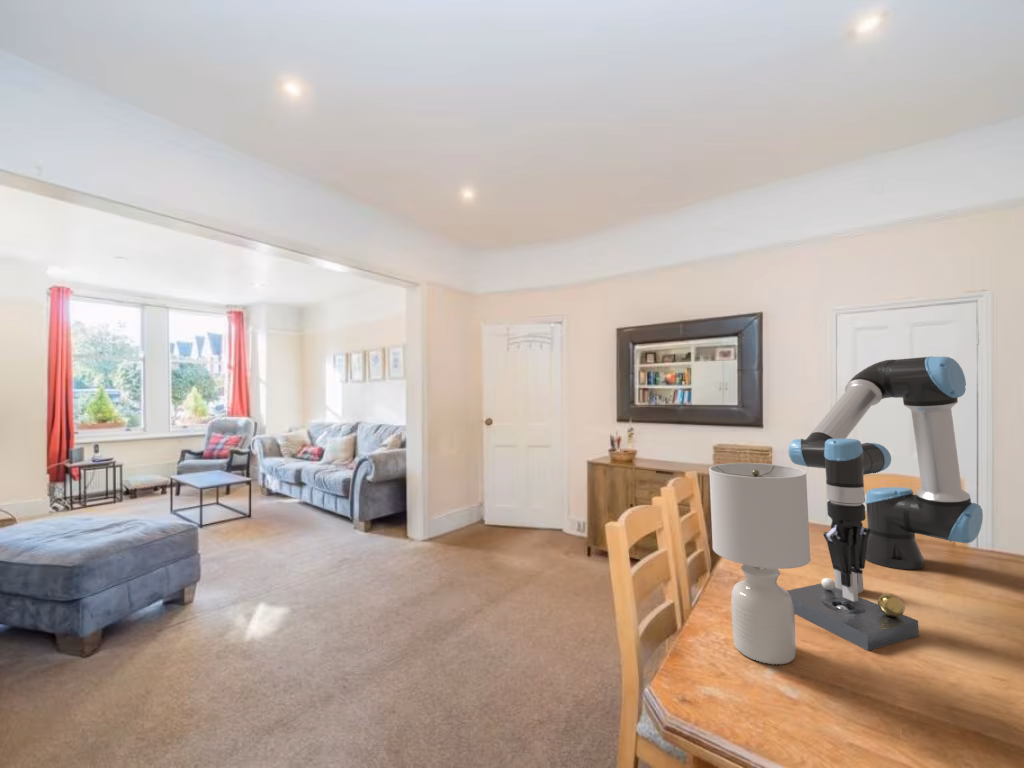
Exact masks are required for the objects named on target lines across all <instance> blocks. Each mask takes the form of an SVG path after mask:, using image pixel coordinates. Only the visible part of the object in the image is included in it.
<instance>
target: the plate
mask: <svg viewBox="0 0 1024 768" xmlns="http://www.w3.org/2000/svg"><path fill="white" fill-rule="evenodd" d="M786 591H787V592H788V593H789V594H790V596H791V598H792V601H793V606H794V614H795V615H797V616H798V617H801V618H802V619H805V620H806V621H808V622H810V623H812V624H814V625H816V626H818V627H820V628H822V629H824V630H826V631H828V632H830V633H832V634H834V635H836V636H838V637H840V638H842V639H844V640H846V641H847V642H850V643H851V644H854V645H855V646H858V647H859V648H862V649H864V650H866V651H868V652H870V651H871V650H876V649H880V648H883V647H887V646H889V645H894V644H896V643H900V642H903V641H904V642H905V641H907V640H910V639H915V638H917V637H918V638H919V636H920V635H919V634H920V631H919V620H917V619H915V618H913V617H911V616H908V615H906V614H904V613H903V614H902V615H901V616H899V617H891V616H888V615H886V614H884V613H883V612H882V611H881V610H880V608H879V606H878V603H875V602H873V601H871V600H868V599H866V598H863V597H860V596H858V601H855V602H853V601H851V600H849V599H846V598H844V597H843V592H842V590H841V589H839V588H837V587H836V586H835V588H834V589H833V590H827V589H825V588H824V587H823V586H822V584H821V583H816V584H812V585H808V586H801V587H798V588H794V589H788V590H786ZM838 605H843V606H845V607H847V608H848V609H849V610H844V609H840V608H837V607H836V606H838Z"/></svg>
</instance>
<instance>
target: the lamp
mask: <svg viewBox="0 0 1024 768" xmlns="http://www.w3.org/2000/svg"><path fill="white" fill-rule="evenodd" d="M708 473H709V492H710V494H709V495H710V496H709V497H710V514H711V515H710V517H711V520H710V521H711V537H712V550H713V552H714V553H715V554H717V556H719V557H722V558H723V559H726V560H728V561H731V562H733V563H736V564H741V566H740V569H741V571H742V573H743V575H744V578H745V579H744V580H741V581H738V582H737V583H735V584H734V586H732V587H733V588H732V590H731V596H730V597H731V600H730V603H731V604H730V605H731V611H730V613H731V623H732V624H731V625H732V637H733V643H734V646H735V648H736V649H737V650H738V651H739V653H741V654H742V655H744V656H745V657H747V658H748V659H751V660H753V661H755V660H756V662H758V661H759V663H762V664H766V663H767V664H768V665H775V664H776V665H777V666H778V664H779V665H784V664H785V665H786V664H789V663H791V662H792V661H793V660H794V659H795V658H796V653H797V649H796V646H797V645H796V644H797V643H796V618H795V615H796V614H794V606H793V601H792V598H791V596H790V594H789V593H788V592H787V591H788V590H786V589H785V588H783V587H782V586H781V585H779V584H778V582H777V580H778V578H779V577H780V575H781V572H780V571H781V570H782V569H783V570H787V569H796V568H802V567H804V566H807V565H808V564H810V562H811V545H810V525H809V504H808V503H809V502H808V487H807V486H808V485H807V471H806V470H804V469H801V468H799V467H793V466H789V465H781V464H772V463H770V464H769V463H753V462H741V463H740V462H739V463H738V462H736V463H733V462H732V463H720V464H715V465H711V466H709V468H708ZM767 664H766V665H767Z"/></svg>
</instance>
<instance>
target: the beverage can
mask: <svg viewBox="0 0 1024 768" xmlns="http://www.w3.org/2000/svg"><path fill="white" fill-rule="evenodd" d="M859 563H860V562H859ZM860 570H861V571H863V569H860ZM863 574H864V573H862V574H859V573H858V595H860V594H862V593H863V592H864V576H863ZM833 576H834V582H835V587H836V588H839V589H841V590H842V584H841V572H840V571H838V570H835V569H833Z"/></svg>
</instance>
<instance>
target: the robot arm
mask: <svg viewBox="0 0 1024 768" xmlns="http://www.w3.org/2000/svg"><path fill="white" fill-rule="evenodd" d="M966 386H967V382H966V377H965V373H964V371H963V368H962V367H961V365H960V364H959V363H958V362H957V360H955V359H954V358H953V357H950V356H933V355H932V356H931V355H930V356H921V357H911V358H899V359H898V358H897V359H885V360H882V361H879V362H876V363H873V364H871V365H869V366H868V367H866V368H864V369H863V370H860V371H859V372H858V373H857V374H856V375H854V376H853V377H852V378H851V379H850V380H849V381H848V382H847V383H846V385H845V388H844V393H843V394H842V395H841V397H840V398H839V399H838V400H837V402H835V404H834V405H833V406H832V407H831V408H830V410H828V412H827V413H826V415H825V416H824V417H823V418H822V419H821V421H819V423H818V425H817V426H816V427H815V428H814V429H813V431H811V433H810V434H809V435H808V436H807V437H806V438H805V439H804V438H799V439H794V440H792V441H791V442H790V444H789V445H788V457H789V459H790V461H791V462H792V463H793V464H794V465H798V466H801V467H802V466H803V467H807V468H817V469H825V477H826V478H825V479H826V480H825V481H826V498H827V500H828V501H827V502H826V503H827V504H826V507H827V516H828V517H829V518H830V519H831V524H830V528H831V529H830V530H829V531H828V532H826V531H824V532H823V537H824V539H825V541H826V543H827V548H828V553H829V556H830V560H831V563H832V565H831V566H832V568H833V570H834V569H835V570H838V571H840V572H841V584H842V592H843V597H844V598H846V599H849V600H851V601H853V602H855V601H858V597H859V594H858V573H859V574H862V573H863V570H864V569H865V566H866V561H868V562H870V563H872V564H876V565H879V566H884V567H886V568H893V569H899V570H919V569H923V568H924V567H925V559H924V556H923V554H922V552H921V550H920V547H919V545H918V543H917V540H916V534H917V535H920V536H921V535H922V536H925V537H931V538H936V539H939V540H943V541H944V540H945V541H948V542H957V543H961V544H970V543H972V542H974V541H975V540H976V539H977V538H978V536H979V533H980V531H981V529H982V525H983V519H984V518H983V517H984V514H983V509H982V507H981V505H979V504H977V503H975V502H972V500H971V495H970V493H968V492H966V491H965V490H964V489H963V488H962V487H963V486H962V482H961V472H960V465H959V458H958V457H959V456H958V451H957V443H956V436H955V434H956V433H955V428H954V427H955V426H954V420H953V412H952V409H953V408H954V406H955V405H957V404H958V402H959V400H958V399H959V398H961V397H963V396H964V395H965V393H966ZM888 398H894V399H895V398H897V399H898V398H899V399H900V398H902V401H903V406H905V407H906V408H908V409H909V410H910V411H911V412H910V413H911V418H912V425H913V432H914V441H915V448H916V454H917V461H918V462H917V463H918V469H919V478H920V485H921V487H920V488H919V489H918V490H917V491H915V494H914V491H913V490H912V488H907V487H897V486H895V487H894V486H892V487H891V486H889V487H875V488H871V489H868V490H867V492H866V495H865V486H864V485H865V483H864V475H870V474H877V473H880V472H882V471H885V470H886V469H888V468H889V467H890V465H891V462H892V455H891V453H890V451H889V450H888V449H887V448H886V447H885V446H884V445H882V444H879V443H876V442H865V443H861V441H860V440H859V439H855V438H848V436H850V434H851V433H852V431H853V430H854V428H855V427H857V425H858V424H859V422H860V421H861V419H862V418H863V417H864V416H865V414H867V412H868V411H869V409H871V407H872V406H876V405H878V404H879V403H880V402H881V401H882V400H883V399H888ZM864 503H865V504H866V506H865V505H864ZM865 520H867V521H866V522H867V527H865V526H864V525H863V521H865ZM859 562H860V563H859ZM860 569H862V571H861V570H860ZM863 574H864V573H863Z"/></svg>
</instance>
